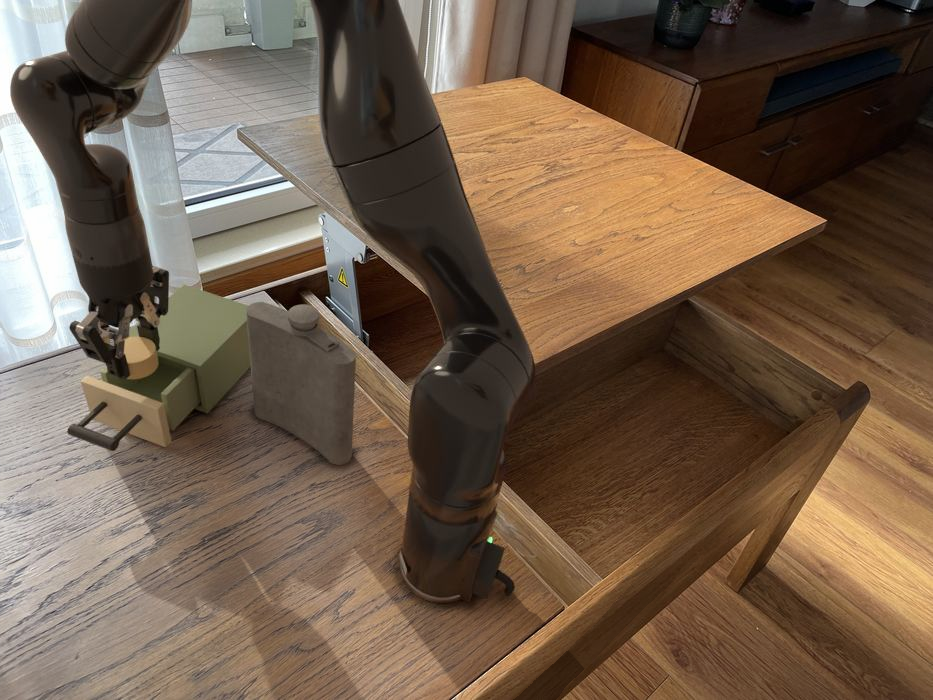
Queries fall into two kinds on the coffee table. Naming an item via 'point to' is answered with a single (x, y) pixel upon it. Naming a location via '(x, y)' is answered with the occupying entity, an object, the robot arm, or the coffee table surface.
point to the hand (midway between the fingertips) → (136, 361)
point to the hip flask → (302, 377)
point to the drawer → (139, 404)
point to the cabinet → (205, 340)
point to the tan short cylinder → (140, 357)
